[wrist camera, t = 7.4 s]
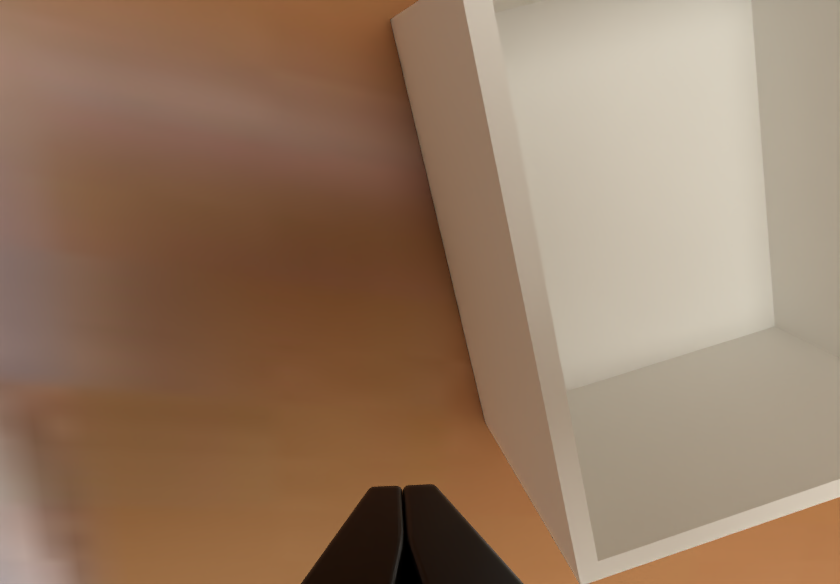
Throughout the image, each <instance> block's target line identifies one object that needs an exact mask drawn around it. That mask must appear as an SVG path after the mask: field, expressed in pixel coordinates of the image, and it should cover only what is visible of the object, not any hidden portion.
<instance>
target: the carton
mask: <svg viewBox="0 0 840 584" xmlns="http://www.w3.org/2000/svg"><path fill="white" fill-rule="evenodd" d="M390 21H391V26H392V30H393V34H394V38H395V43H396V47H397V51H398V55H399V59H400V64H401V68H402V72H403V76H404V81H405V85H406V89H407V93H408V98H409V102H410V106H411V110H412V115H413V119H414V123H415V127H416V132H417V136H418V140H419V144H420V149H421V153H422V157H423V161H424V166H425V170H426V174H427V178H428V183H429V187H430V191H431V195H432V199H433V204H434V208H435V212H436V216H437V221H438V225H439V229H440V233H441V238H442V242H443V246H444V250H445V255H446V259H447V263H448V267H449V272H450V276H451V280H452V284H453V289H454V293H455V297H456V301H457V306H458V310H459V314H460V318H461V322H462V327H463V331H464V335H465V339H466V344H467V348H468V352H469V356H470V361H471V365H472V369H473V373H474V378H475V382H476V386H477V390H478V395H479V399H480V403H481V407H482V412H483V416H484V420H485V423H486V425H487V427H488V428H489V430H490V432H491V433H492V435H493V437H494V439H495V440H496V442H497V444H498V445H499V447H500V449H501V451H502V452H503V454H504V456H505V457H506V459H507V461H508V462H509V464H510V466H511V468H512V469H513V471H514V473H515V474H516V476H517V478H518V480H519V481H520V483H521V485H522V486H523V488H524V490H525V492H526V493H527V495H528V497H529V498H530V500H531V502H532V503H533V505H534V507H535V509H536V510H537V512H538V514H539V515H540V517H541V519H542V521H543V522H544V524H545V526H546V527H547V529H548V531H549V532H550V534H551V536H552V538H553V539H554V541H555V543H556V544H557V546H558V548H559V550H560V551H561V553H562V555H563V556H564V558H565V560H566V561H567V563H568V565H569V567H570V568H571V570H572V572H573V573H574V575H575V577H576V579H577V580H578V582H579V584H588V583H591V582H594V581H597V580H599V579H602V578H605V577H608V576H611V575H614V574H617V573H620V572H623V571H626V570H628V569H631V568H634V567H637V566H640V565H643V564H646V563H649V562H652V561H655V560H657V559H660V558H663V557H666V556H669V555H672V554H675V553H678V552H681V551H684V550H687V549H689V548H692V547H695V546H698V545H701V544H704V543H707V542H710V541H713V540H716V539H718V538H721V537H724V536H727V535H730V534H733V533H736V532H739V531H742V530H745V529H747V528H750V527H753V526H756V525H759V524H762V523H765V522H768V521H771V520H774V519H777V518H779V517H782V516H785V515H788V514H791V513H794V512H797V511H800V510H803V509H806V508H808V507H811V506H814V505H817V504H820V503H823V502H826V501H829V500H832V499H835V498H837V497H840V0H419V1H417V2H416V3H414V4H413V5H411V6H410V7H408V8H407V9H405V10H404V11H402V12H401V13H399V14H398V15H396V16H395V17H393V18H392V19H390Z"/></svg>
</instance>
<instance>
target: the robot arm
mask: <svg viewBox="0 0 840 584" xmlns="http://www.w3.org/2000/svg"><path fill="white" fill-rule="evenodd" d="M301 584H523V583H522V582H521V580H520V579H519V578H518V577H517V576H516V575H515V574H514V573H513V571H512V570H511V569H510V568H509V567H508V566H507V565H506V564H505V563H504V561H503V560H502V559H501V558H500V557H499V556H498V555H497V554H496V553H495V551H494V550H493V549H492V548H491V547H490V546H489V545H488V544H487V543H486V541H485V540H484V539H483V538H482V537H481V536H480V535H479V534H478V533H477V531H476V530H475V529H474V528H473V527H472V526H471V525H470V524H469V523H468V521H467V520H466V519H465V518H464V517H463V516H462V515H461V514H460V512H459V511H458V510H457V509H456V508H455V507H454V506H453V505H452V504H451V502H450V501H449V500H448V499H447V498H446V497H445V496H444V495H443V494H442V492H441V491H440V490H439V489H438V488H437V487H436V486H434V485H432V484H426V485H408V486H405V487H404V489H403V493H402V489H401V488H400V487H399V486H378V487H371V488H370V489H369V490H368V491H367V492H366V494H365V495H364V497H363V498H362V499H361V501H360V502H359V504H358V505H357V506H356V508H355V509H354V511H353V512H352V513H351V515H350V516H349V518H348V519H347V520H346V522H345V523H344V524H343V526H342V527H341V529H340V530H339V531H338V533H337V534H336V536H335V537H334V538H333V540H332V541H331V543H330V544H329V545H328V547H327V548H326V550H325V551H324V552H323V554H322V555H321V557H320V558H319V559H318V561H317V562H316V563H315V565H314V566H313V568H312V569H311V570H310V572H309V573H308V575H307V576H306V577H305V579H304V580H303V582H302V583H301Z"/></svg>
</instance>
